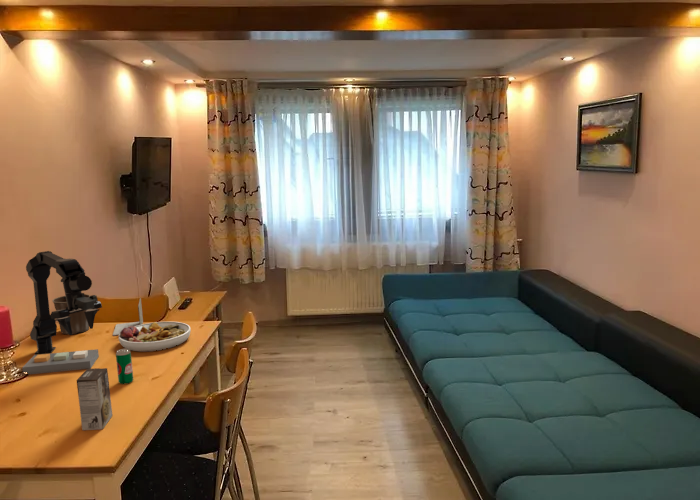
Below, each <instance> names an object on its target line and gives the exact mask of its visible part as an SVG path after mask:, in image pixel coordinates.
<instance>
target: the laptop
mask: <svg viewBox="0 0 700 500" xmlns="http://www.w3.org/2000/svg"><path fill="white" fill-rule="evenodd" d="M142 307H143V305H142V297H140V298H139V300H138V305H137V310H138V321H134V322H124V323H123V322H122V323H117V324H115V328H114V330H113V332H112V336H119V334H120V332H121V331H122V330H123V329H124V328H128V327H130V326H138V325H142V324H144V318H143V308H142Z"/></svg>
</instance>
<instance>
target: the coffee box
mask: <svg viewBox="0 0 700 500" xmlns="http://www.w3.org/2000/svg"><path fill="white" fill-rule="evenodd" d="M76 388H77V389H76V390H77V395H78V396H77V397H78V405H79V413H80V414H79V415H80V422H81V423H80V424H81V429H82V430H81V431H93V430H94V431H96V430H104V428H106V425H108V424H107V423H109V421H110V419H112V417H113V408H112V399H111V389H110V382H109V373H108V368H107V367H106V368H104V367H103V368H100V367H99V368H97V367H96V368H95V367H94V368H91V369H85V371H83V373H82V374H81V375H80V376H79V377H78V378H77V379H76Z"/></svg>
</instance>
